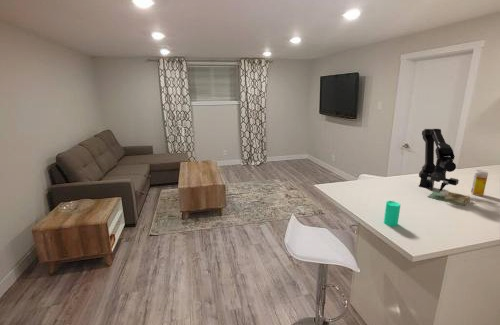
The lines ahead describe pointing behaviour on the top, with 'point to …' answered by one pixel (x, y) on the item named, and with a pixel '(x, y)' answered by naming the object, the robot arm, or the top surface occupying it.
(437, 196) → the putting mat
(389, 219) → the candle
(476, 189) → the orange cylindrical container
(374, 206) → the top surface
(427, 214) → the top surface
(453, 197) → the u-shaped wooden rail
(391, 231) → the top surface
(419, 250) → the top surface
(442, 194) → the golf ball
